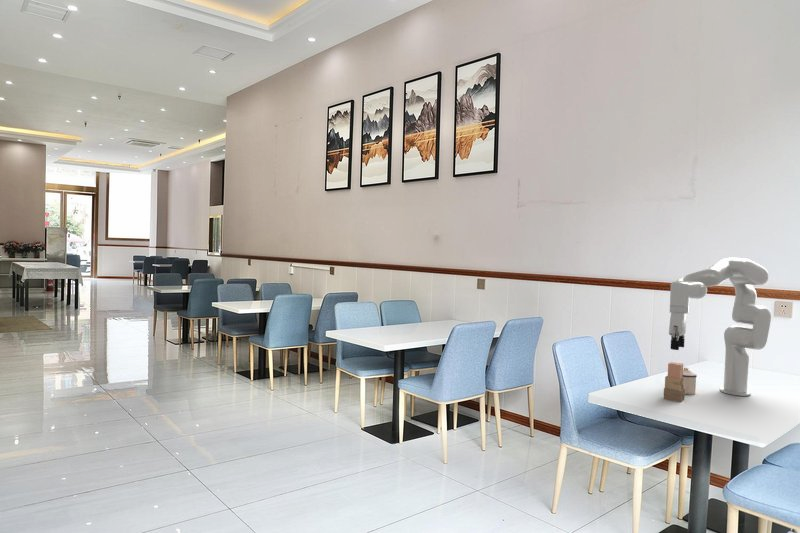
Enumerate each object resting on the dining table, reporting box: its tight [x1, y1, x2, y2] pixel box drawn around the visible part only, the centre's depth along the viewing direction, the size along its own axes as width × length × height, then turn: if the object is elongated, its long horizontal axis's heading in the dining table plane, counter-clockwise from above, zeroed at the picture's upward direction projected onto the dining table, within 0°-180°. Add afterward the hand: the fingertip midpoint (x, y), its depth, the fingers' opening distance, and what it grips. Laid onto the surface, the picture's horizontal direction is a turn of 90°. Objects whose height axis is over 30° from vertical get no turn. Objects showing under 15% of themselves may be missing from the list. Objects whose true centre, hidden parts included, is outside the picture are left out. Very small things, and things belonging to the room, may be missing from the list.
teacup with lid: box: [683, 366, 697, 396], centre depth 259 cm, size 12×9×12 cm
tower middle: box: [664, 375, 684, 391], centre depth 244 cm, size 6×6×5 cm
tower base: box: [663, 387, 686, 403], centre depth 244 cm, size 7×7×5 cm
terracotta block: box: [667, 361, 684, 379], centre depth 244 cm, size 5×5×6 cm
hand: (677, 348), depth 244 cm, fingers open, 9 cm apart
